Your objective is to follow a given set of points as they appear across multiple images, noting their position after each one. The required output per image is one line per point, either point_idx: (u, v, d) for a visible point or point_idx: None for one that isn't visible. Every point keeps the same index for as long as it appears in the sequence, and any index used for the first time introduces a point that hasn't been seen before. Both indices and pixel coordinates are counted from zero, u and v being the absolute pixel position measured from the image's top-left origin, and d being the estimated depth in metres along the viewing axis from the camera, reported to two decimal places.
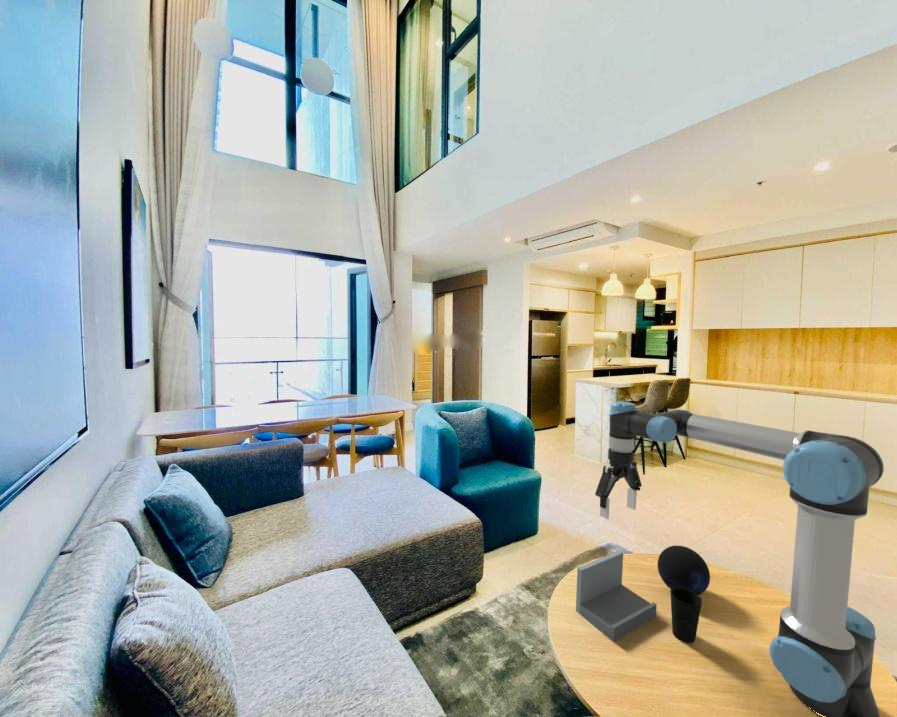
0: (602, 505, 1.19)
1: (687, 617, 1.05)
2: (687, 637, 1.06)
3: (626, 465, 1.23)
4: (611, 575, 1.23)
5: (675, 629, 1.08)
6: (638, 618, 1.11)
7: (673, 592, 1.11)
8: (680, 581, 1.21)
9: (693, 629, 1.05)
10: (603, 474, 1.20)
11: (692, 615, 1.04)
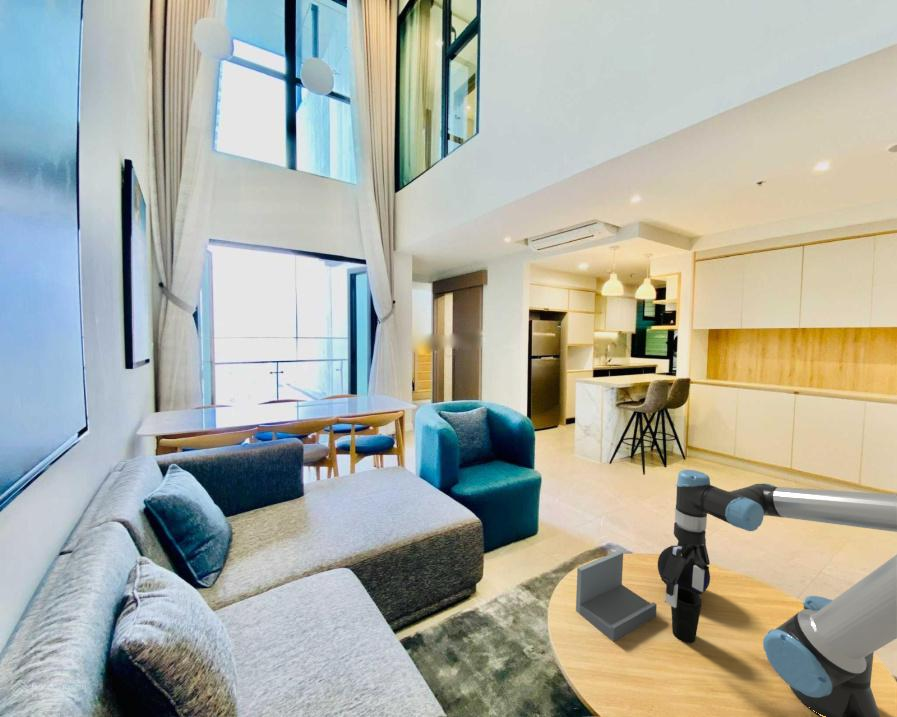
0: (669, 592, 1.04)
1: (687, 617, 1.05)
2: (687, 637, 1.06)
3: None
4: (611, 575, 1.23)
5: (675, 629, 1.08)
6: (638, 618, 1.11)
7: None
8: (680, 581, 1.21)
9: (693, 629, 1.05)
10: (670, 556, 1.04)
11: (692, 615, 1.04)
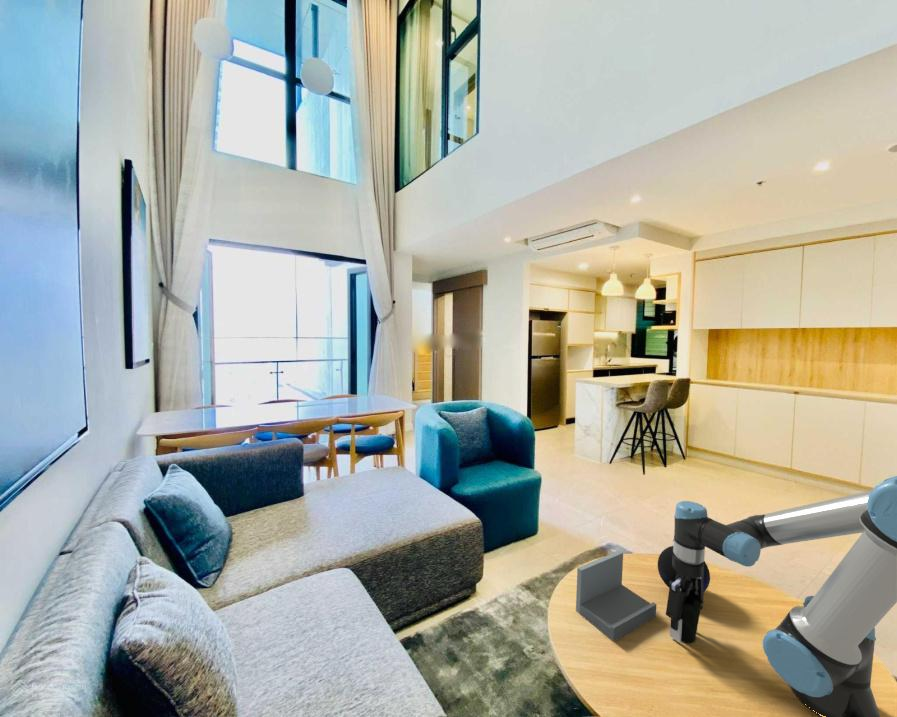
0: (674, 627, 1.05)
1: (687, 617, 1.05)
2: (687, 637, 1.06)
3: None
4: (611, 575, 1.23)
5: None
6: (638, 618, 1.11)
7: None
8: None
9: (693, 629, 1.05)
10: (670, 591, 1.05)
11: (692, 615, 1.04)
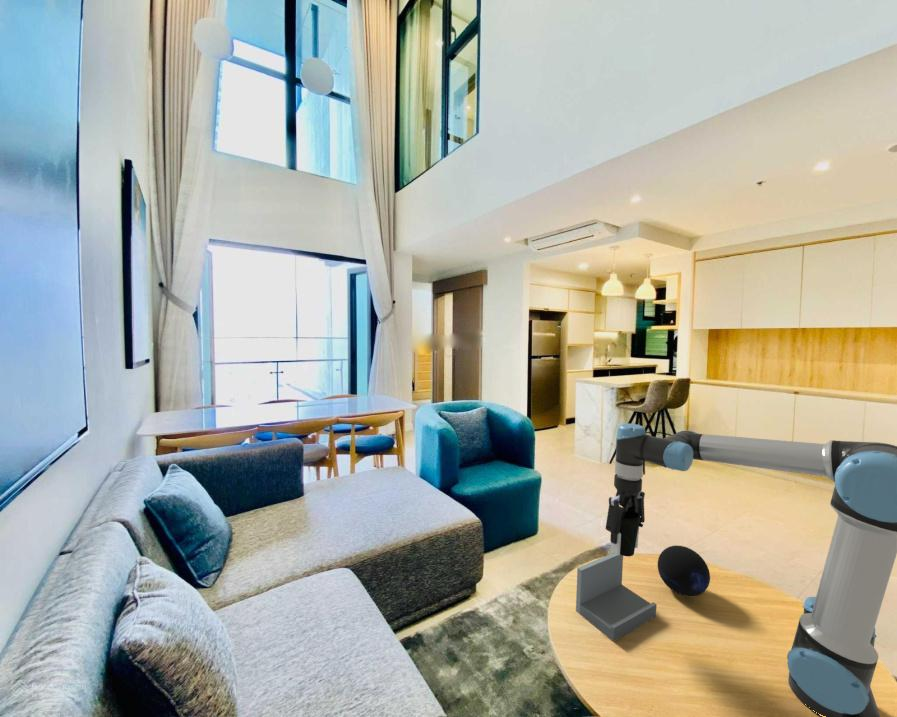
0: (613, 540, 1.11)
1: (626, 530, 1.10)
2: (625, 550, 1.11)
3: None
4: (611, 575, 1.23)
5: None
6: (638, 618, 1.11)
7: None
8: (680, 581, 1.21)
9: (631, 542, 1.11)
10: (610, 507, 1.11)
11: (630, 528, 1.10)
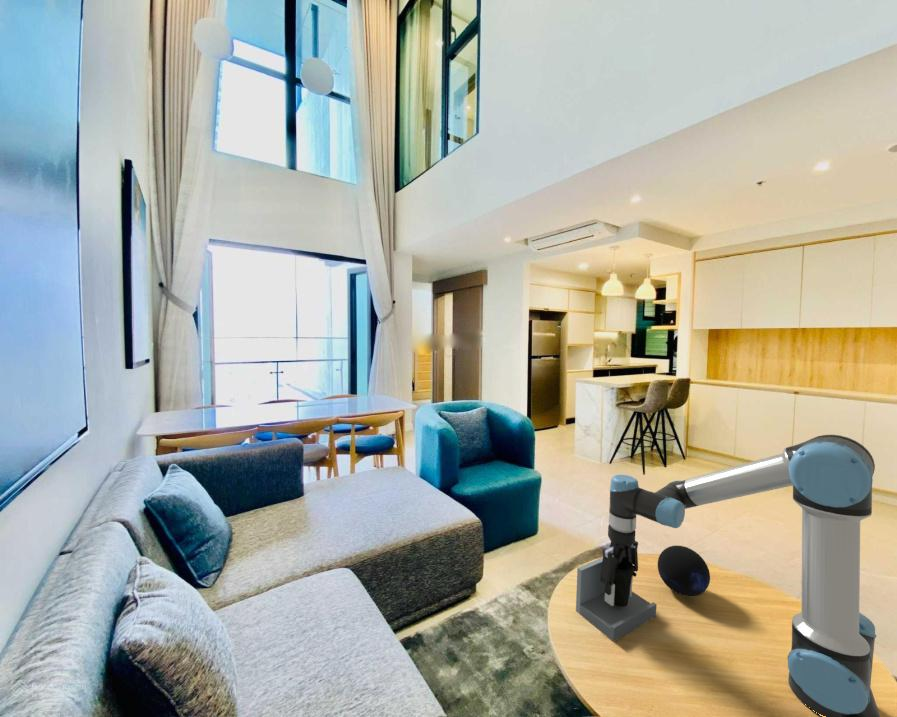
0: (607, 591, 1.12)
1: (619, 582, 1.12)
2: (619, 601, 1.13)
3: None
4: None
5: None
6: (638, 618, 1.11)
7: None
8: (680, 581, 1.21)
9: (625, 593, 1.13)
10: (604, 558, 1.12)
11: (623, 580, 1.12)
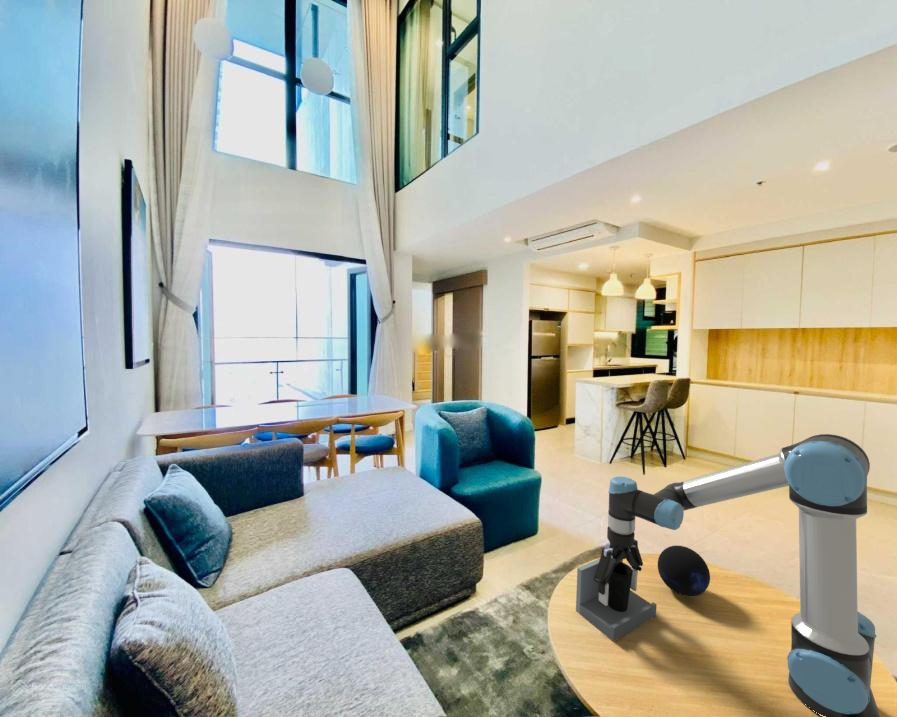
0: (601, 591, 1.11)
1: (619, 586, 1.12)
2: (619, 606, 1.13)
3: None
4: None
5: (609, 599, 1.15)
6: (638, 618, 1.11)
7: None
8: (680, 581, 1.21)
9: (624, 598, 1.13)
10: (602, 557, 1.12)
11: (623, 584, 1.12)
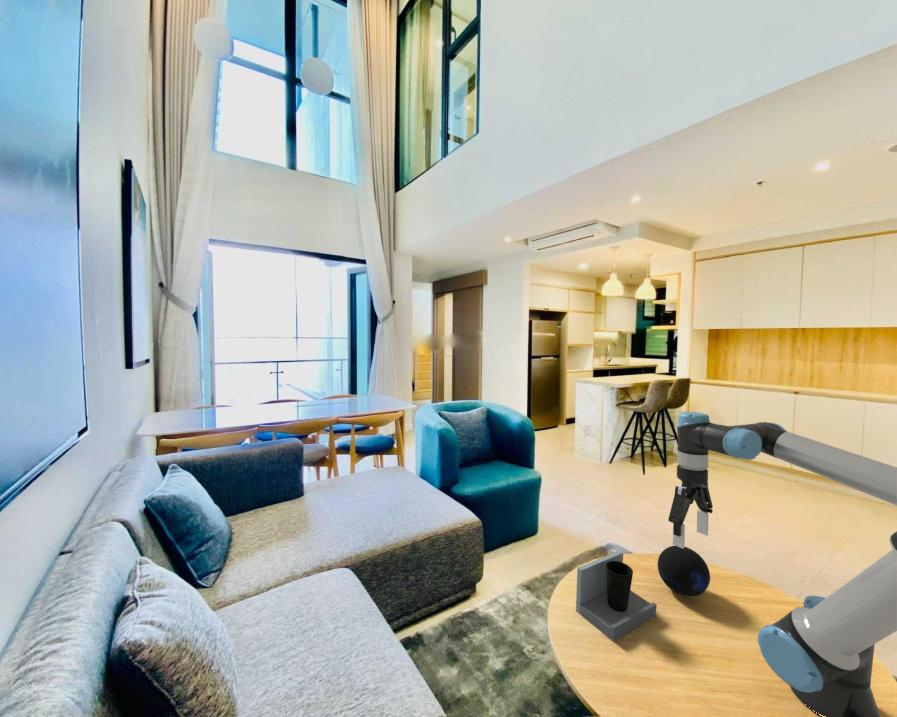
0: (677, 532, 1.03)
1: (619, 587, 1.12)
2: (619, 606, 1.13)
3: (698, 484, 1.08)
4: None
5: (609, 599, 1.15)
6: (638, 618, 1.11)
7: (609, 565, 1.18)
8: (680, 581, 1.21)
9: (624, 598, 1.13)
10: (676, 496, 1.05)
11: (623, 585, 1.12)
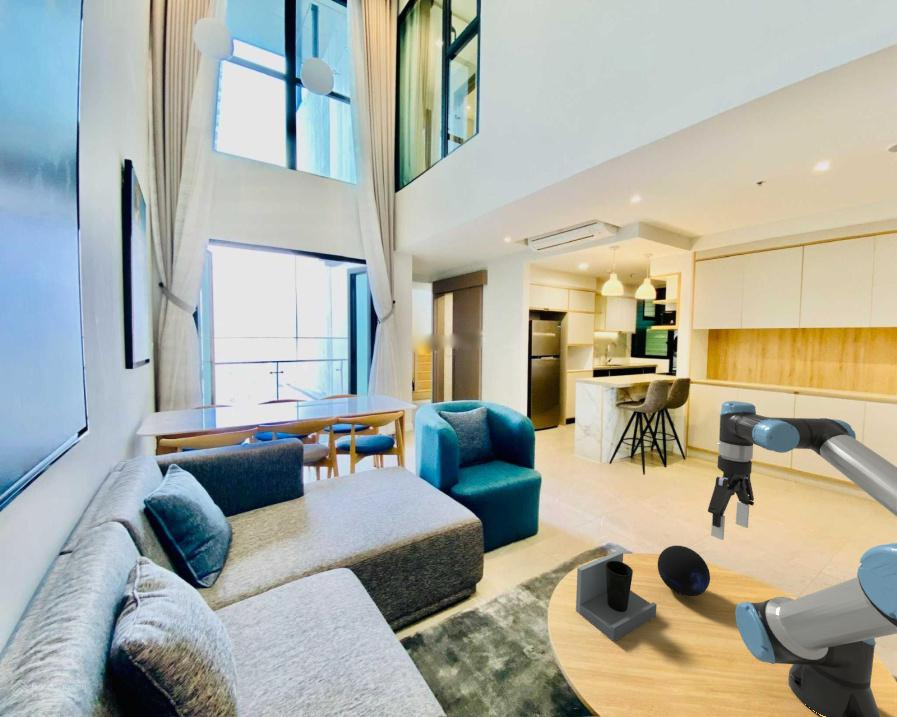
0: (716, 524, 1.01)
1: (619, 587, 1.12)
2: (619, 606, 1.13)
3: (741, 476, 1.05)
4: None
5: (609, 599, 1.15)
6: (638, 618, 1.11)
7: (609, 565, 1.18)
8: (680, 581, 1.21)
9: (624, 598, 1.13)
10: (716, 487, 1.02)
11: (623, 585, 1.12)
